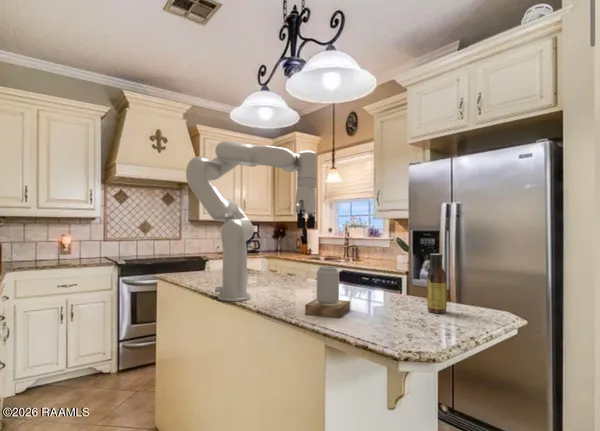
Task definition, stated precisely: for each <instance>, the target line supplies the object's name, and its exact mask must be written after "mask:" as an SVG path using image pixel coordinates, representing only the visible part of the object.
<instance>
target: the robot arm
mask: <svg viewBox="0 0 600 431" xmlns="http://www.w3.org/2000/svg"><path fill="white" fill-rule="evenodd" d="M214 149H215V150H214V151H215V156H216V157H215V158H213V159H211V158H208V157H205V156H195V157H192V159H190V160H189V162H188V164H187V166H186V171H185V177H186V178H185V179H186V182H187V184H188V186H189V188H190V190H191V191H192V193H194V195H195V196H196V198H197V199H198V200H199V202H200V204H201V205H202V206H203V208H204V209H205V210H206V212H207V213H208V214H209V216H210V217H211V219H213V220H214V221H217V222H223V224H222V227H221V232H220V239H221V246H222V279H221V280H222V286H216V287H215V289H214V292H215V293H219V295H217V297H218V298H217V299H218V300H219V301H223V302H242V301H247V300H249V299H251V297H252V296H251V294H250V293H247V292H248V290H247V288H248V287H247V286H248V275H247V274H248V248H247V242H246V241H249V240H251V238H252V237H253V236H254V232H255V230H254V226H253V225H254V224H252V222H251V220H250V219H249V218H248V216H247V215H246V214H245V213H244V211H243V209H242V208H241V207H240V206H239V205H238V203H236V202H235V201H234V200H233V199H230V198H225V196H224V195H223V194H221V192H220V191H219V189H218V188H217V187H216V185H215V184H214V183H213V182H212V181H216V180H218V179H220V178H221V177H223V176H224V175H226V174H227V173H229V172H230V171H232V170H233V169H235V168H236V167H237V166H238V165H240V166H244V167H245V166H247V167H250V168H251V167H252V168H253V167H257V166H267V167H272V168H273V167H274V168H279V169H281V170H282V171H285V172H287V173H293V172H296V193H295V194H296V195H295V204H294V205H295V206H294V207H295V208H294V210H295V212H296V228H297V229H302V230H303V229H304V230H305V229H315V228H316V209H317V208H316V205H317V204H316V201H317V200H316V199H317V198H316V189H317V183H318V181H317V178H318V177H317V172H318V171H317V167H318V166H317V165H318V164H317V162H318V158H317V157H318V155H317V153H316V152H314V151H313V150H302V151H299V152H298V153H295V152H292V151H291V150H290V149H288V148H284V147H279V146H272V145H255V144H247V143H241V142H235V141H234V142H233V141H228V140H227V141H226V140H225V141H221V142H219V143H217V145H216V147H215V148H214ZM306 215H307V217H306Z"/></svg>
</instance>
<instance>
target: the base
mask: <svg viewBox="0 0 600 431" xmlns="http://www.w3.org/2000/svg"><path fill="white" fill-rule="evenodd" d="M304 306H305V307H304V315H311V316H319V317H331V318H342V317H343V316H345V314H346V313H348V312H349V311H350V310H351V301H350V300H344V299H342V300H341V299H339V300H338V301H337V302H336V303H335V304H322V303H319V302H318V301H317V298H315V299H314V300H312V301H310V302H308V303H306V304H305V305H304Z"/></svg>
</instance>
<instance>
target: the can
mask: <svg viewBox="0 0 600 431" xmlns="http://www.w3.org/2000/svg"><path fill="white" fill-rule="evenodd" d="M337 268H338V267H336V266H327V265H326V266H319V267H318V270H317V271H316V299H317V301H318V302H319V303H322V304H335V303H336V302H337V301H338V300H340V298H339V297H340V296H339V295H340V294H339V291H340V290H339V289H340V288H339V287H340V284H339V283H340V282H339V281H340V280H339V279H340V276H339V275H340V272H339V271H338V269H337Z"/></svg>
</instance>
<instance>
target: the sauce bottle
mask: <svg viewBox="0 0 600 431" xmlns="http://www.w3.org/2000/svg"><path fill="white" fill-rule="evenodd" d="M429 259H430V266H429V270H428V273H427V275H426V297H427V298H426V307H427V310H428V312H429V313H432V314H446V313H447V306H448V304H447V303H448V302H447V276H446V275H447V274H446V272H445V270H444V269H443V253H430V254H429Z"/></svg>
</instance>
